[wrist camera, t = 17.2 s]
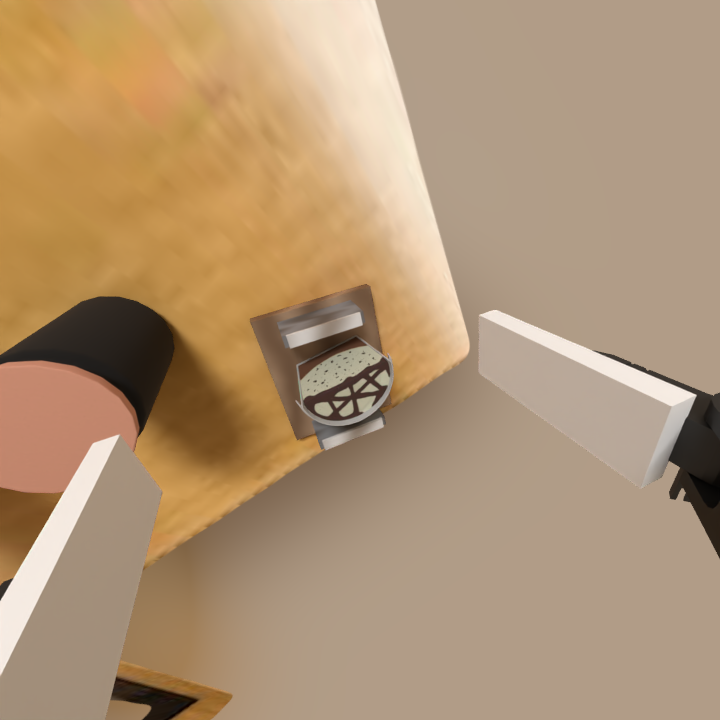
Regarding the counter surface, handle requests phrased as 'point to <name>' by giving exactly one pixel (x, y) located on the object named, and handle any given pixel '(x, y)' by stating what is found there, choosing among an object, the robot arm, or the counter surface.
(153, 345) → the coffee jar
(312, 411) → the food container
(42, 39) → the counter surface
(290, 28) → the counter surface
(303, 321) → the holder
